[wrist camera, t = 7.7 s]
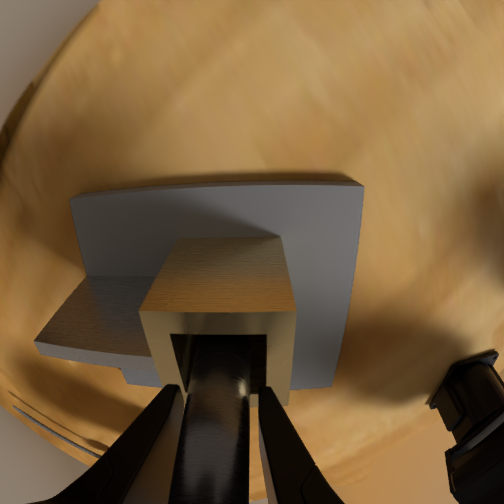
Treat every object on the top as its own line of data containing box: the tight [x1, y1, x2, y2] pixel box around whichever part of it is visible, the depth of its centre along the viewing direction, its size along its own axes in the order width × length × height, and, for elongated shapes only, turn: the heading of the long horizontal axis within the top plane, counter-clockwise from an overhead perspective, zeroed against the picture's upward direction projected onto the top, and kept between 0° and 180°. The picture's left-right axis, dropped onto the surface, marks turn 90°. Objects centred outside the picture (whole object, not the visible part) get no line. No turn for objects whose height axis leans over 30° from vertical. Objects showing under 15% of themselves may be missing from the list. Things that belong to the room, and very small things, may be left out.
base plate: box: [69, 181, 364, 390], centre depth 17 cm, size 15×14×1 cm
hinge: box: [34, 236, 297, 407], centre depth 14 cm, size 11×11×6 cm
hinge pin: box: [168, 334, 251, 504], centre depth 8 cm, size 2×2×8 cm
